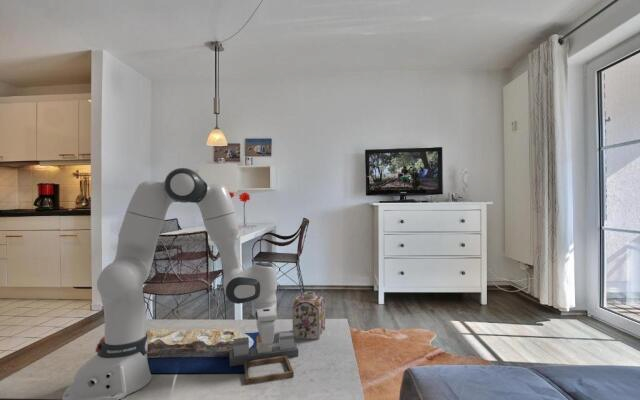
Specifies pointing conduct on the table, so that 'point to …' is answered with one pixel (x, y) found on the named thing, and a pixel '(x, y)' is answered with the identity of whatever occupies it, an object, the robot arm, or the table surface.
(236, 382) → the table surface
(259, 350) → the block
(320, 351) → the table surface
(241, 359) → the fuse holder
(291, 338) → the right fuse
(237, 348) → the block
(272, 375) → the brown wooden frame
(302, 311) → the decorative jar
